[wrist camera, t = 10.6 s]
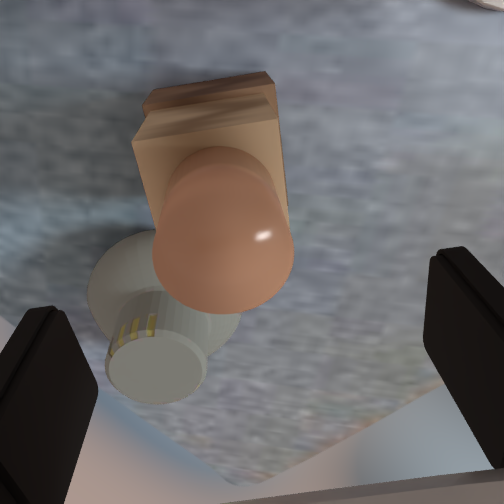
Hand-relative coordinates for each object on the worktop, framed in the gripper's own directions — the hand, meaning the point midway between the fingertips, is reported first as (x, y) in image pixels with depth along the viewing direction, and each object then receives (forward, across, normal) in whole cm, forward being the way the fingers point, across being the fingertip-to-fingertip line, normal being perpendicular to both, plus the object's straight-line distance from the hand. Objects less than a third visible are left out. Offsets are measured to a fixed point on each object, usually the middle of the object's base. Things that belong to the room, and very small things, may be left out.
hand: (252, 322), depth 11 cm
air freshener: (+20, +7, +11) cm, 23 cm away
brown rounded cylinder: (+9, +1, 0) cm, 9 cm away
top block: (+15, +1, 0) cm, 15 cm away
